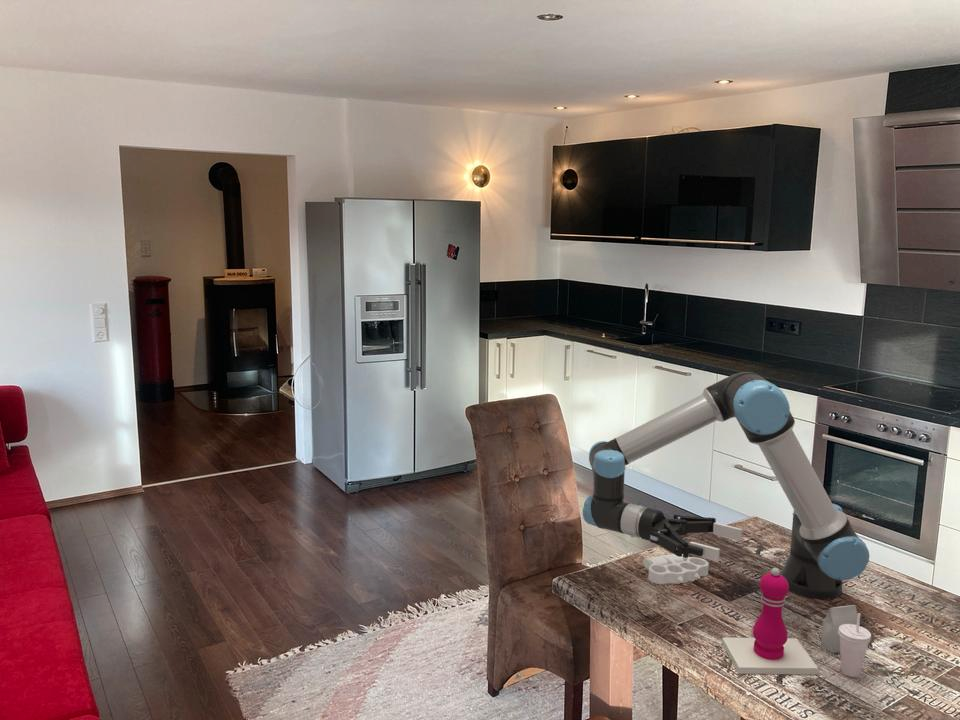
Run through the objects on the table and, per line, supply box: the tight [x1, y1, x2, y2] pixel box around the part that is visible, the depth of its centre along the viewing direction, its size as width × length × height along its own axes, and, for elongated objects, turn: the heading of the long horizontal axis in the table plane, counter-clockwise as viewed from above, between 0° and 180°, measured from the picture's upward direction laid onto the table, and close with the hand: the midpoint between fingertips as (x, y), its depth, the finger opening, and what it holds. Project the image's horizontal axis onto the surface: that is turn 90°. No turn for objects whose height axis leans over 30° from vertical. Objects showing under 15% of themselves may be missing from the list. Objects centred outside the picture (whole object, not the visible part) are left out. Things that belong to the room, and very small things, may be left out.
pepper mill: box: [752, 567, 790, 660], centre depth 171 cm, size 7×7×20 cm
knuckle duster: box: [642, 553, 710, 585], centre depth 214 cm, size 3×18×15 cm
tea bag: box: [820, 604, 860, 654], centre depth 177 cm, size 4×7×10 cm, turn 104°
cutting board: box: [721, 637, 819, 676], centre depth 173 cm, size 17×12×2 cm
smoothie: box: [838, 612, 872, 678], centre depth 167 cm, size 6×6×14 cm
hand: (730, 544), depth 175 cm, fingers open, 13 cm apart
